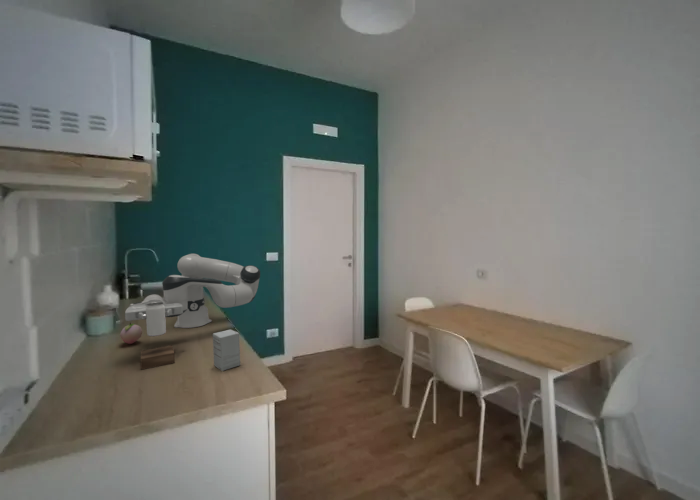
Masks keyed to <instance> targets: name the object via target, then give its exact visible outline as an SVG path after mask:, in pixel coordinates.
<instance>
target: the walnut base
mask: <svg viewBox="0 0 700 500" xmlns="http://www.w3.org/2000/svg"><path fill="white" fill-rule="evenodd" d="M174 350H175V349H174V348H173V344H169V345H163V346H158V347H152V348H147V349H141V350H140V366H141V368H140V370H146V369H152V368H157V367H161V366H167V365H172V364H175V363H176V362H175V361H176V360H175V351H174Z"/></svg>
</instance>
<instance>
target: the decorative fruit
mask: <svg viewBox="0 0 700 500" xmlns="http://www.w3.org/2000/svg"><path fill="white" fill-rule="evenodd" d="M142 335H143V329H142V327H141V326H140V325H138V324H135V323H131V322H129V324H128V325H126V326H124V327H123V328H122V330H121V331H120V333H119V336H120V339H121V340H122V341H123V342H124V344H125V343H126V344H128V345H133V344H134V343H135V342H137V341H138V340H140V339H141V337H142Z"/></svg>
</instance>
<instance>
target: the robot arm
mask: <svg viewBox="0 0 700 500" xmlns="http://www.w3.org/2000/svg"><path fill="white" fill-rule="evenodd" d="M176 267H177V271H178V272H179V273H180V274H181V275H179V274H170V275H167V276H166V277H165V278H164V279H163V281H162V283H161V285H162V291H163V297H162V296H161V295H159V294H154V293H153V294H150V295H147V296H146V297H145V298H144V299H143V301H139V302H133V303H130V304H129V306H128V307H127V308H126V310H125V312H124V319H125V322H130V321H131V322H133V321H138V320H146V307H147V304H150V303H157V302H162V303H163V305H164V306H165V318H173V317H176V318H177V319H176V321H175V323H174V328H183V329H188V328H189V329H190V328H197V327H202V326H205V325H207V324H209V323H212V321H213V320H212V319H210V318H209V309H208V307H207V306H206V305H205V298H204V288H206V289H207V290H208V292H209V294H210V297H211V299H212V301H213V302H214V304H216V305H217V306H218V307H220V308H233V307H239V306H244V305H246V304H248V303H252V302H253V301H254V299H255V297H256V294H257V292H258V288H259V284H260V283H259V282H260V278H261V270H260V269H259V268H258V267H257V266H255V265H252V264H251V265H245V266H243V265H241V264H238V263H235V262H231V261H226V260H220V259H216V258H211V257H203V256H200V255H199V254H197V253H188V254H186V255H183V256H181V257H180V258H179V260H178V262H177V266H176ZM223 282H228V283H232V285H231V284H230V285H226V284H223Z"/></svg>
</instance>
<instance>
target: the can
mask: <svg viewBox="0 0 700 500" xmlns="http://www.w3.org/2000/svg"><path fill="white" fill-rule="evenodd" d="M145 321H146V322H145V323H146V335H147V336H148V337H159V336H162V335H164V334H166V332H167V325H166V324H167V323H166V322H167V321H166V317H165V306H164V305H163V303H162V302H157V303H150V304H147V307H146V319H145Z"/></svg>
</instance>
